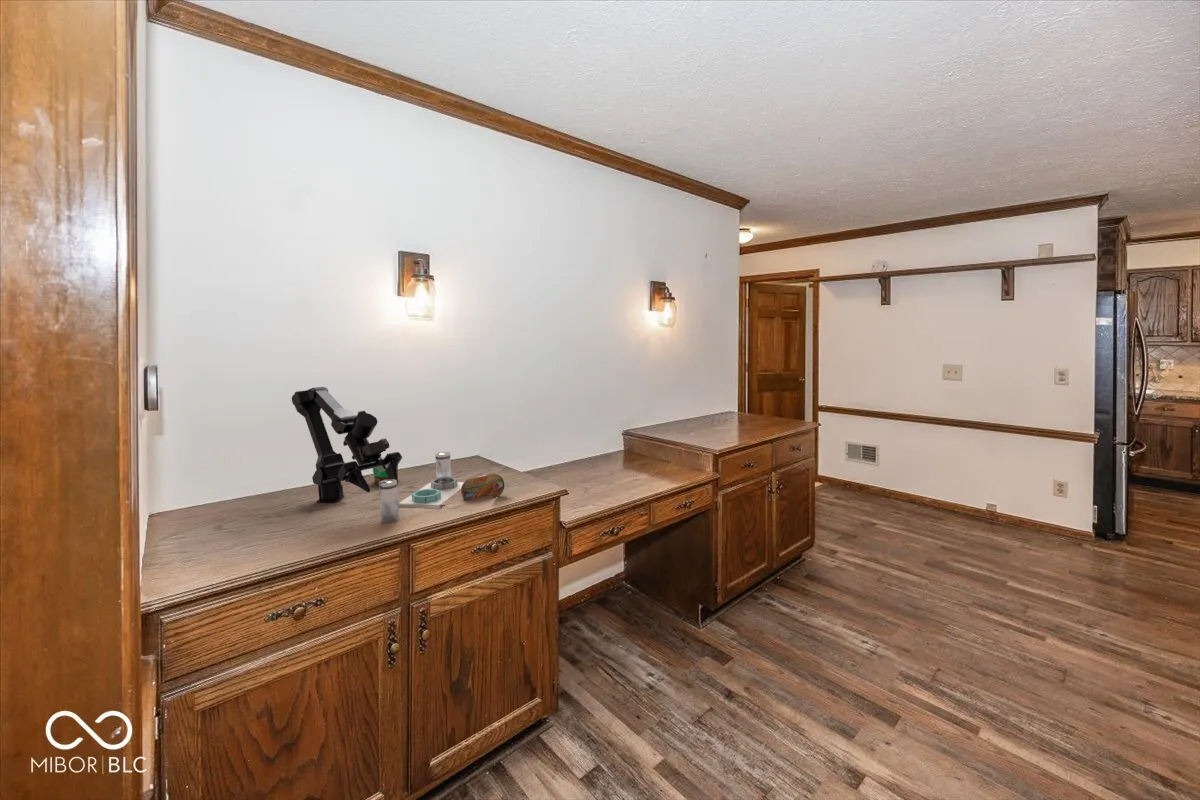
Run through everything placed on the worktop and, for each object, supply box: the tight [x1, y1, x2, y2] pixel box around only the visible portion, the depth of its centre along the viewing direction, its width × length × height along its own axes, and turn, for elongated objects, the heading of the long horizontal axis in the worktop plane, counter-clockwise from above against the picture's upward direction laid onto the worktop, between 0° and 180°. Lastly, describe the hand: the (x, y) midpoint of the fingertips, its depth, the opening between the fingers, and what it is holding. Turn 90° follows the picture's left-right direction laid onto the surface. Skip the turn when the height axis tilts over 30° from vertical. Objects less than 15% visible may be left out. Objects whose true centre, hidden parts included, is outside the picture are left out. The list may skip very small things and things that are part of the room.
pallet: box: [398, 476, 465, 510], centre depth 183 cm, size 14×25×4 cm, turn 173°
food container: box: [372, 456, 399, 486], centre depth 197 cm, size 12×6×10 cm, turn 62°
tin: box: [460, 473, 505, 502], centre depth 179 cm, size 15×3×8 cm, turn 129°
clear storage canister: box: [378, 479, 400, 524], centre depth 160 cm, size 5×5×12 cm
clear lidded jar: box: [435, 451, 452, 484], centre depth 189 cm, size 5×5×12 cm
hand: (383, 487), depth 161 cm, fingers open, 9 cm apart
